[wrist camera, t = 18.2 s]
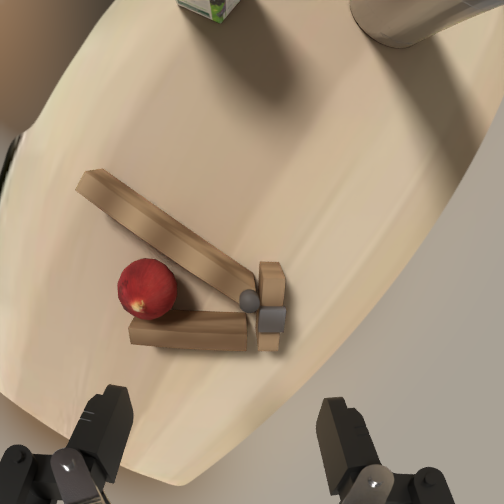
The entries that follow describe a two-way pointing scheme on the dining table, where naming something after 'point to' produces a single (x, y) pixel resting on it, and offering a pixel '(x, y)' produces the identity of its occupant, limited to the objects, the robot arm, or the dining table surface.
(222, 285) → the bar
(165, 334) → the wooden hinge stand
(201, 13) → the syrup box
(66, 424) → the dining table surface
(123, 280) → the onion
